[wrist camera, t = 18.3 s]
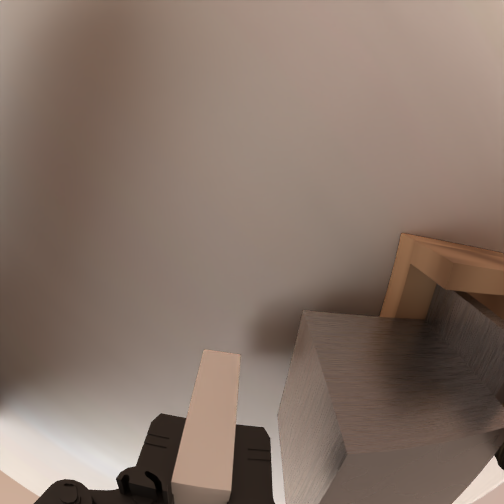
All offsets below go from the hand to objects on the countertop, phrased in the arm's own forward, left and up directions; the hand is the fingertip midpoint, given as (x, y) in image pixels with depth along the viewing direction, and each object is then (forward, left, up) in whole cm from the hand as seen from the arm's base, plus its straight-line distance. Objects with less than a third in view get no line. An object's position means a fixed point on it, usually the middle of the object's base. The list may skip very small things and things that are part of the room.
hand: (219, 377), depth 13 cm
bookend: (+6, 0, -1) cm, 7 cm away
